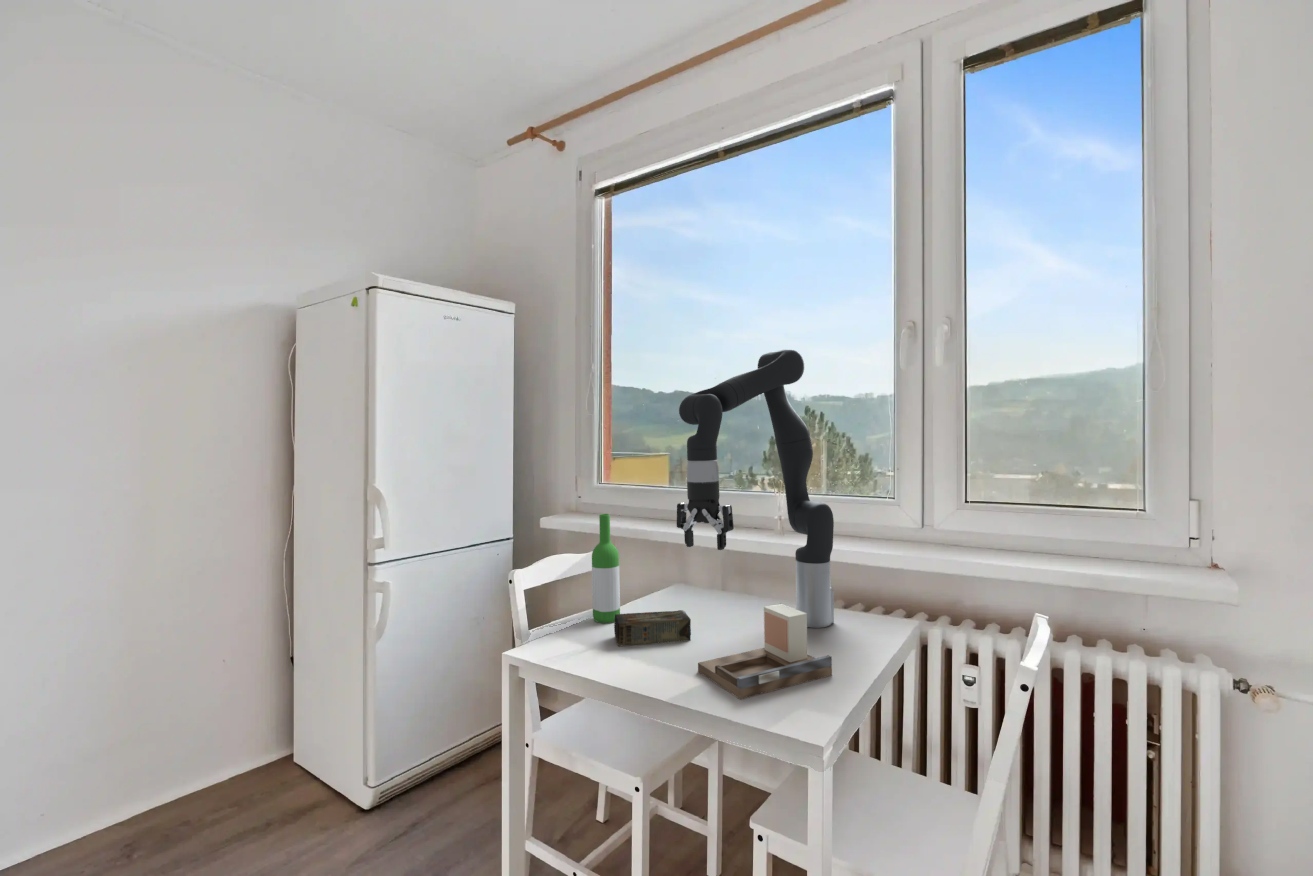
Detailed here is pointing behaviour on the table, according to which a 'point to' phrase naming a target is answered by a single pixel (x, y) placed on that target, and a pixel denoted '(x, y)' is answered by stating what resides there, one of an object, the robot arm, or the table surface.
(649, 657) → the table surface
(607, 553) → the wine bottle
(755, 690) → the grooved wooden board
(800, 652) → the tea box
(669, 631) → the beverage carton
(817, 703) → the table surface
